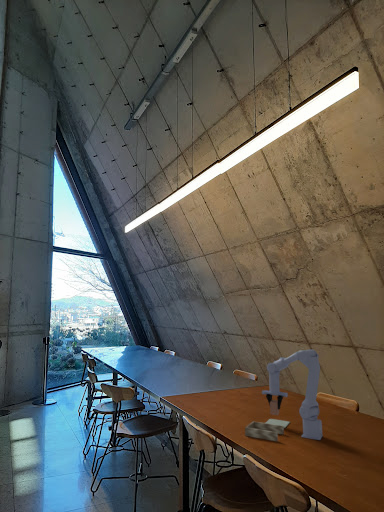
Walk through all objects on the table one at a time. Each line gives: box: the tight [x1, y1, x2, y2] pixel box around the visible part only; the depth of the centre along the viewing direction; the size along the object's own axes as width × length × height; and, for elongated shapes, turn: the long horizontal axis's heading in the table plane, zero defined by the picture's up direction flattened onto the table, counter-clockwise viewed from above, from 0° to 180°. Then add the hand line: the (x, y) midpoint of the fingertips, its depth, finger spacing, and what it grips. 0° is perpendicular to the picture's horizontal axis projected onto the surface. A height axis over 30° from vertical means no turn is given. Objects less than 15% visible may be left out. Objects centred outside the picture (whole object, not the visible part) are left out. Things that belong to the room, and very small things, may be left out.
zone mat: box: [265, 418, 291, 429], centre depth 207 cm, size 12×12×1 cm
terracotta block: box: [269, 399, 280, 416], centre depth 205 cm, size 4×4×7 cm
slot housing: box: [244, 421, 285, 442], centre depth 188 cm, size 17×13×4 cm
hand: (275, 408), depth 206 cm, fingers closed on terracotta block, 4 cm apart
